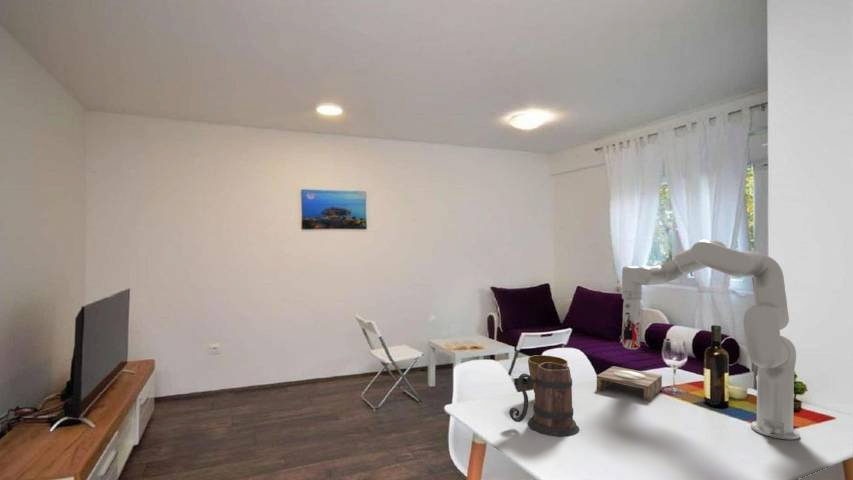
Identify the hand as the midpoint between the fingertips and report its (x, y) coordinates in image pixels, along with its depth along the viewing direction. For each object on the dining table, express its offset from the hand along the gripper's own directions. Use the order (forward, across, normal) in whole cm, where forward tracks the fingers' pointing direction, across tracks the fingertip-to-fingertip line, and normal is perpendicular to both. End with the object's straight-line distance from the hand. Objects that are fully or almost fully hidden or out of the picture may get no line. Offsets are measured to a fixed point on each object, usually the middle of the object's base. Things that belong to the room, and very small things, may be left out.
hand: (631, 337), depth 189 cm
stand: (+22, 0, 0) cm, 22 cm away
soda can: (+5, 0, 0) cm, 5 cm away
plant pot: (+22, -37, +19) cm, 47 cm away
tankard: (+22, -60, +9) cm, 65 cm away
